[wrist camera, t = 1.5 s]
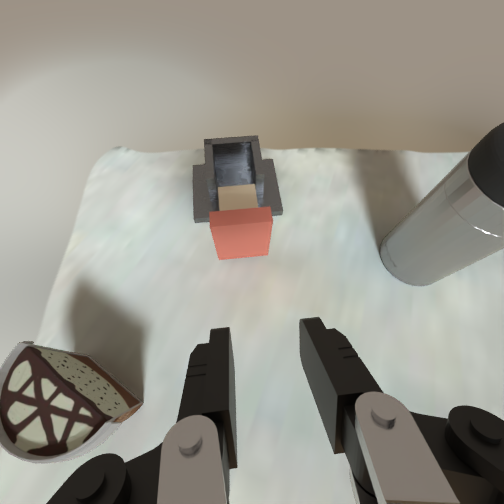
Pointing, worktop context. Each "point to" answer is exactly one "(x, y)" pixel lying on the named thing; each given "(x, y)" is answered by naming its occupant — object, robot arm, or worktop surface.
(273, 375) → the worktop surface
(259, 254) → the red plug
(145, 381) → the worktop surface
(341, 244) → the worktop surface
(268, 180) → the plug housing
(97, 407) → the food container
